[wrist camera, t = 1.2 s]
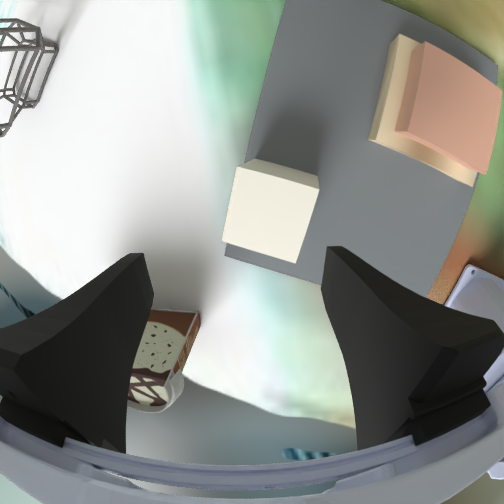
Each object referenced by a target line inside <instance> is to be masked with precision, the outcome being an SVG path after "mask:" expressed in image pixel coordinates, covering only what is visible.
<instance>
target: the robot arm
mask: <svg viewBox="0 0 504 504" xmlns="http://www.w3.org/2000/svg"><path fill="white" fill-rule="evenodd" d="M472 270H473V272H472ZM471 272H472V273H471ZM321 291H322V296H323V300H324V304H325V308H326V311H327V314H328V317H329V319H330V322H331V325H332V327H333V330H334V333H335V335H336V338H337V341H338V343H339V346H340V349H341V351H342V354H343V358H344V361H345V365H346V369H347V374H348V378H349V383H350V389H351V394H352V400H353V406H354V414H355V422H356V432H357V445H358V446H357V447H358V451H355V452H351V453H346V454H341V455H336V456H331V457H325V458H320V459H313V460H306V461H299V462H290V463H279V464H266V465H203V464H189V463H179V462H170V461H162V460H156V459H149V458H144V457H138V456H133V455H128V454H126V413H127V402H128V393H129V386H130V380H131V374H132V368H133V364H134V360H135V357H136V354H137V351H138V348H139V345H140V342H141V339H142V336H143V333H144V330H145V327H146V324H147V321H148V318H149V315H150V311H151V307H152V302H153V297H154V292H153V288H152V285H151V281H150V277H149V274H148V270H147V266H146V262H145V258H144V254H143V253H130V254H128V255H126V256H125V257H123V258H121V259H120V260H119V261H117V262H116V263H114V264H113V265H112V266H110V267H109V268H108V269H106V270H105V271H104V272H102V273H101V274H100V275H98V276H97V277H96V278H94V279H93V280H91V281H90V282H89V283H87V284H86V285H84V286H83V287H82V288H80V289H79V290H77V291H76V292H74V293H73V294H71V295H70V296H68V297H67V298H65V299H63V300H62V301H60V302H58V303H57V304H55V305H53V306H52V307H50V308H48V309H46V310H44V311H42V312H40V313H38V314H36V315H34V316H32V317H30V318H27V319H25V320H23V321H20V322H18V323H15V324H13V325H10V326H7V327H4V328H1V329H0V395H1V396H2V397H3V398H2V400H1V403H0V473H1V474H2V475H4V476H5V477H6V478H7V479H9V480H10V481H11V482H13V483H14V484H15V485H16V486H18V487H19V488H20V489H22V490H23V491H25V492H26V493H28V494H29V495H30V496H32V497H34V498H35V499H37V500H38V501H40V502H41V503H43V504H441V503H443V502H444V501H446V500H448V499H449V498H451V497H452V496H454V495H455V494H457V493H458V492H460V491H461V490H463V489H464V488H466V487H467V486H469V485H470V484H471V483H473V482H474V481H475V480H477V479H478V478H479V477H481V476H482V475H483V474H484V473H486V472H488V473H489V474H490V477H491V478H493V479H504V280H503V279H501V278H499V277H497V276H495V275H493V274H491V273H489V272H487V271H484V270H482V269H480V268H478V267H476V266H474V265H471V264H468V265H467V266H466V267H465V269H464V271H463V273H462V274H461V276H460V278H459V280H458V282H457V284H456V286H455V287H454V289H453V291H452V293H451V295H450V296H449V298H448V300H447V301H446V303H445V305H442V304H439V303H437V302H435V301H432V300H430V299H428V298H425V297H423V296H421V295H419V294H417V293H415V292H413V291H412V290H410V289H408V288H406V287H404V286H402V285H401V284H399V283H397V282H396V281H394V280H392V279H391V278H389V277H388V276H386V275H384V274H383V273H381V272H380V271H378V270H377V269H375V268H374V267H373V266H371V265H370V264H368V263H367V262H365V261H364V260H362V259H361V258H360V257H358V256H357V255H355V254H354V253H352V252H351V251H349V250H348V249H346V248H344V247H343V246H327V249H326V256H325V264H324V271H323V278H322V284H321ZM107 472H108V473H107ZM110 473H112V474H115V475H119V476H123V477H127V478H132V479H136V480H141V481H146V482H151V483H157V484H163V485H169V486H177V487H186V488H196V489H210V490H263V489H278V488H288V487H296V486H304V485H311V484H318V483H323V482H328V481H334V480H339V479H343V478H346V479H343V480H339V481H337V482H336V483H335V486H334V487H333V488H331V489H329V490H326V491H324V492H323V493H321V494H314V495H305V496H296V497H283V498H265V499H219V498H202V497H191V496H180V495H172V494H164V493H157V492H151V491H149V490H146V489H143V488H141V487H139V486H137V485H134V484H133V483H131V482H130V481H129V480H127V479H124V478H121V477H118V476H115V475H112V474H110ZM347 477H349V478H347Z"/></svg>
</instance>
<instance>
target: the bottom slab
mask: <svg viewBox="0 0 504 504" xmlns="http://www.w3.org/2000/svg"><path fill="white" fill-rule="evenodd" d="M420 45H421V43H419V42H417V41H415V40H413V39H410V38H408V37H406V36H404V35H402V34H399V35H398V36H397V37H396V38H395V39H394V40H393V41H392V43H391V44H390V47H389V53H388V58H387V63H386V68H385V72H384V77H383V82H382V86H381V90H380V95H379V99H378V103H377V107H376V111H375V115H374V119H373V122H372V126H371V130H370V134H369V137H368V140H370V141H373V142H376V143H378V144H381V145H383V146H386V147H388V148H391V149H393V150H395V151H398V152H400V153H402V154H405V155H407V156H409V157H411V158H414V159H416V160H418V161H420V162H422V163H424V164H426V165H428V166H430V167H432V168H434V169H436V170H438V171H440V172H442V173H444V174H446V175H448V176H450V177H452V178H453V179H455V180H457V181H460V182H462V183H464V184H466V185H469V186H471V187H473V184H474V181H475V178H476V175H477V172H476V171H473V170H470V169H467V168H465V167H464V166H462V165H460V164H459V163H457V162H455V161H453V160H452V159H450V158H448V157H446V156H444V155H442V154H440V153H439V152H437V151H435V150H433V149H431V148H429V147H427V146H425V145H423V144H421V143H419V142H416V141H414V140H412V139H410V138H408V137H406V136H403V135H401V134H399V133H397V132H394V131H395V127H396V123H397V119H398V115H399V111H400V107H401V103H402V99H403V94H404V90H405V85H406V80H407V75H408V70H409V65H410V59H411V53H412V51H413V50H414V49H416V48H417V47H418V46H420Z"/></svg>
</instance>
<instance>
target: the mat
mask: <svg viewBox="0 0 504 504" xmlns="http://www.w3.org/2000/svg"><path fill="white" fill-rule="evenodd" d="M399 34H402V35H404V36H406V37H408V38H410V39H413V40H415V41H417V42H419V43H421V44H422V43H424V42H425V41H426V42H428V43H430V44H432V45H434V46H436V47H438V48H439V49H441V50H443V51H445V52H446V53H448V54H450V55H452V56H453V57H455V58H457V59H458V60H460V61H461V62H463V63H465V64H466V65H468V66H469V67H471V68H472V69H474V70H475V71H477V72H478V73H479V74H481V75H482V76H484V77H485V78H486V79H488V80H489V81H490V82H492V83H493V84H494V85H496V86H497V75H498V65H496V64H495V63H494V62H493V61H491V60H490V59H489V58H487V57H486V56H485V55H483V54H482V53H480V52H479V51H478V50H476V49H475V48H473V47H472V46H470V45H469V44H467V43H466V42H464V41H462V40H461V39H459V38H458V37H456V36H454V35H453V34H451V33H449V32H448V31H446V30H444V29H442V28H441V27H439V26H437V25H435V24H433V23H431V22H429V21H427V20H425V19H423V18H421V17H419V16H417V15H415V14H413V13H411V12H408V11H406V10H404V9H401V8H399V7H397V6H394V5H392V4H389V3H387V2H384V1H381V0H286V1H285V5H284V8H283V12H282V15H281V19H280V23H279V26H278V30H277V33H276V37H275V41H274V45H273V48H272V52H271V56H270V60H269V64H268V67H267V71H266V75H265V79H264V83H263V87H262V91H261V95H260V99H259V103H258V107H257V111H256V115H255V119H254V124H253V128H252V132H251V136H250V141H249V145H248V149H247V153H246V158H245V162H244V163H246V162H248V161H251V160H253V159H259V160H263V161H267V162H271V163H275V164H278V165H282V166H286V167H289V168H293V169H296V170H300V171H303V172H306V173H310V174H313V175H316V176H318V182H319V189H320V190H319V193H318V196H317V199H316V203H315V206H314V209H313V212H312V215H311V219H310V222H309V225H308V228H307V231H306V234H305V237H304V240H303V243H302V246H301V249H300V252H299V255H298V258H297V261H296V264H295V263H292V262H289V261H285V260H282V259H279V258H276V257H272V256H269V255H266V254H262V253H259V252H256V251H252V250H249V249H246V248H243V247H239V246H236V245H233V244H229V243H227V246H226V251H225V256H227V257H230V258H234V259H237V260H240V261H243V262H246V263H250V264H253V265H256V266H260V267H263V268H266V269H269V270H273V271H276V272H279V273H282V274H286V275H289V276H292V277H296V278H299V279H302V280H306V281H309V282H312V283H316V284H319V285H321V284H322V278H323V271H324V264H325V256H326V249H327V246H343V247H344V248H346V249H348V250H349V251H351V252H352V253H354V254H355V255H357V256H358V257H360V258H361V259H362V260H364V261H365V262H367V263H368V264H370V265H371V266H373V267H374V268H375V269H377V270H378V271H380V272H381V273H383V274H384V275H386V276H388V277H389V278H391V279H392V280H394V281H396V282H397V283H399V284H401V285H402V286H404V287H406V288H408V289H410V290H412V291H413V292H415V293H417V294H419V295H421V296H423V297H425V298H426V296H427V294H428V293H429V291H430V289H431V287H432V285H433V283H434V282H435V280H436V278H437V276H438V274H439V272H440V270H441V268H442V266H443V264H444V262H445V260H446V258H447V256H448V254H449V252H450V250H451V247H452V245H453V243H454V241H455V238H456V236H457V234H458V231H459V229H460V227H461V224H462V222H463V219H464V217H465V214H466V211H467V209H468V206H469V203H470V200H471V198H472V195H473V192H474V189H475V186H476V183H477V179H478V176H479V172H477V175H476V178H475V181H474V184H473V187H471V186H469V185H466V184H464V183H462V182H460V181H457V180H455V179H453V178H452V177H450V176H448V175H446V174H444V173H442V172H440V171H438V170H436V169H434V168H432V167H430V166H428V165H426V164H424V163H422V162H420V161H418V160H416V159H414V158H411V157H409V156H407V155H405V154H402V153H400V152H398V151H395V150H393V149H391V148H388V147H386V146H383V145H381V144H378V143H376V142H373V141H370V140H368V137H369V134H370V130H371V126H372V122H373V119H374V115H375V111H376V107H377V103H378V99H379V95H380V90H381V86H382V82H383V77H384V72H385V68H386V63H387V58H388V53H389V47H390V44H391V43H392V41H393V40H394V39H395V38H396V37H397V36H398V35H399Z"/></svg>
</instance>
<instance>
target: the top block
mask: <svg viewBox="0 0 504 504" xmlns="http://www.w3.org/2000/svg"><path fill="white" fill-rule="evenodd" d="M319 190H320V189H319V182H318V176H316V175H313V174H310V173H306V172H303V171H300V170H296V169H293V168H289V167H286V166H282V165H278V164H275V163H271V162H267V161H263V160H259V159H253V160H251V161H248V162H246V163H244V164H242V165H239V166H237V169H236V173H235V178H234V183H233V187H232V192H231V197H230V202H229V207H228V211H227V216H226V221H225V226H224V231H223V236H222V241H223V242H226V243H229V244H233V245H236V246H239V247H243V248H246V249H249V250H252V251H256V252H259V253H262V254H266V255H269V256H272V257H276V258H279V259H282V260H285V261H289V262H292V263H295V264H296V261H297V258H298V255H299V252H300V249H301V246H302V243H303V240H304V237H305V234H306V231H307V228H308V225H309V222H310V219H311V215H312V212H313V209H314V206H315V203H316V199H317V196H318V193H319Z"/></svg>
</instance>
